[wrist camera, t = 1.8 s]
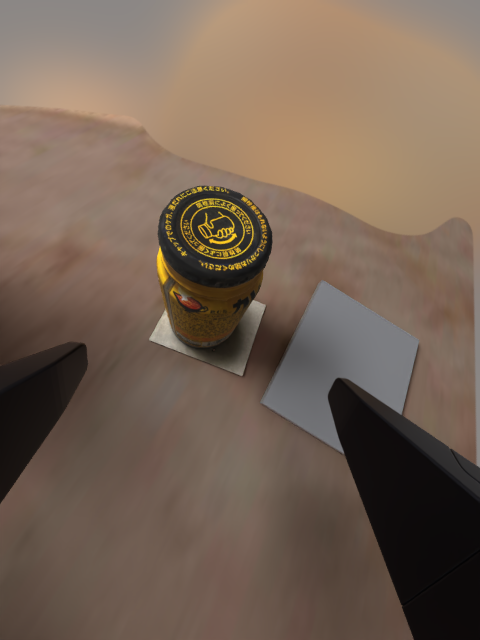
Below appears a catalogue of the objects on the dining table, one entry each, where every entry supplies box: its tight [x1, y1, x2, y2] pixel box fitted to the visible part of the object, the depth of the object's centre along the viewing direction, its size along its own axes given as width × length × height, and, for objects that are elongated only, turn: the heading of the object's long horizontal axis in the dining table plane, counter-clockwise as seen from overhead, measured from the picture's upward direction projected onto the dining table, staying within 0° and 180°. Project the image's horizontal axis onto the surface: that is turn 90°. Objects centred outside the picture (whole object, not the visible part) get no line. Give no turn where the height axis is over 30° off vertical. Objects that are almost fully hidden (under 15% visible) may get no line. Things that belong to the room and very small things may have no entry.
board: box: [260, 280, 419, 456], centre depth 22 cm, size 14×12×1 cm
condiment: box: [149, 186, 272, 376], centre depth 16 cm, size 7×8×12 cm
